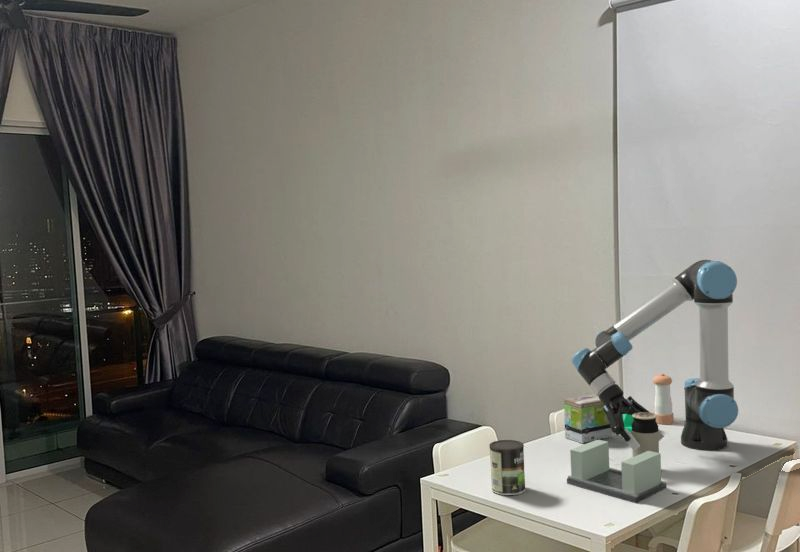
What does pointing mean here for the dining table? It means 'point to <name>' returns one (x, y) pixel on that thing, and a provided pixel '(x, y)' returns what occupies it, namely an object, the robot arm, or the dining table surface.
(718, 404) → the robot arm
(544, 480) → the dining table surface
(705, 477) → the dining table surface
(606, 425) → the tea box
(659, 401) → the pepper shaker
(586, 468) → the grey block holder
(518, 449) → the coffee can
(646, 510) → the dining table surface
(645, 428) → the travel mug
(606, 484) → the rail plate
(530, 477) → the dining table surface
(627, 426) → the camera mount
